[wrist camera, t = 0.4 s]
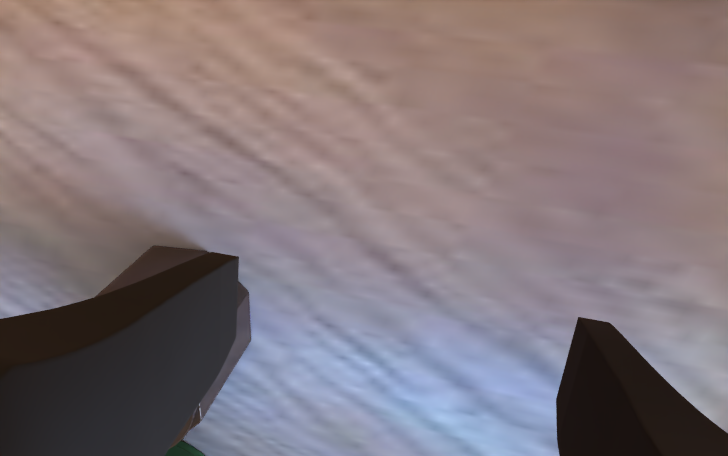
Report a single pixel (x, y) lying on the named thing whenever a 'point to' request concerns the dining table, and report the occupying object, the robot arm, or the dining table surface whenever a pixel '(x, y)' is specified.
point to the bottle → (183, 450)
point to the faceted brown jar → (169, 257)
